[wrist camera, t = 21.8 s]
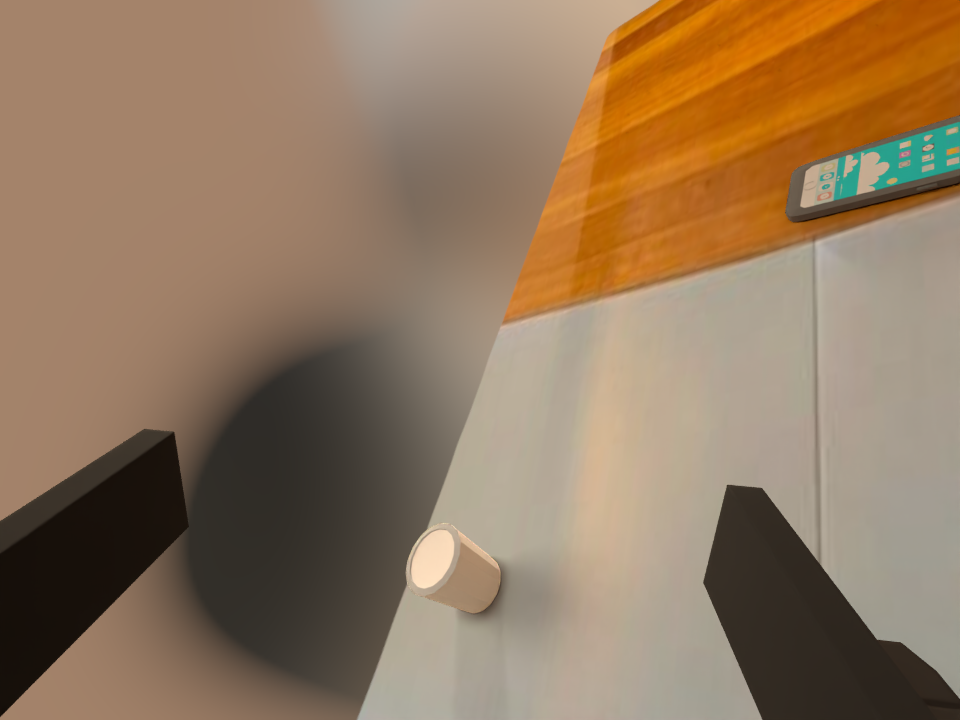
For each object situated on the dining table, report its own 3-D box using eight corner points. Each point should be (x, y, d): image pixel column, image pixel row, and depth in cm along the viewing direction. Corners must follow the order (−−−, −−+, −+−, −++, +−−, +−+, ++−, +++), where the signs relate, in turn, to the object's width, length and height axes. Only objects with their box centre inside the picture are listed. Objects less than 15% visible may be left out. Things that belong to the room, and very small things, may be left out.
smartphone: (792, 165, 57) (981, 105, 46) (795, 172, 58) (982, 114, 47) (783, 219, 53) (986, 168, 42) (786, 226, 54) (987, 177, 43)
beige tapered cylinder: (485, 632, 48) (434, 607, 45) (442, 604, 54) (394, 580, 50) (516, 562, 51) (471, 533, 47) (473, 541, 56) (429, 514, 52)
